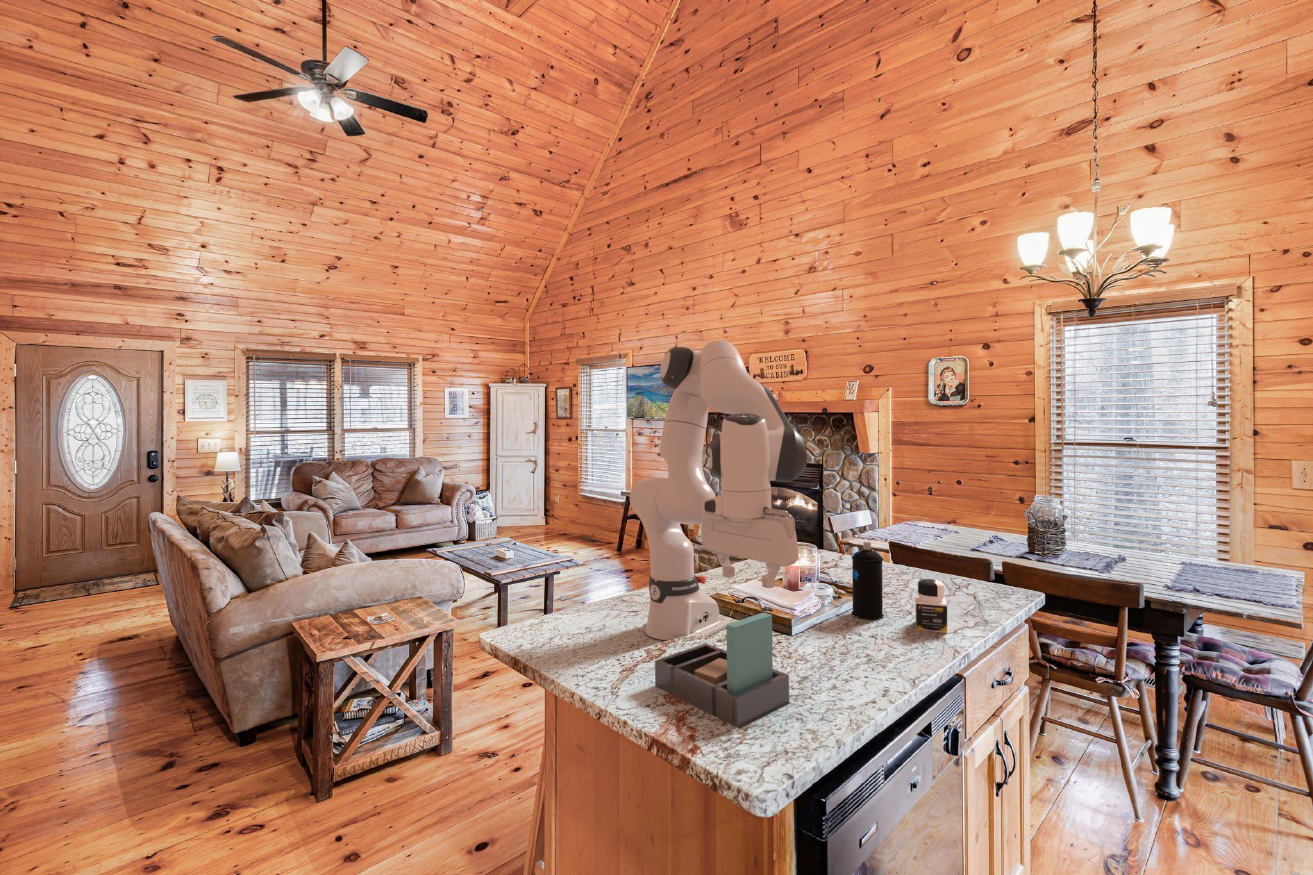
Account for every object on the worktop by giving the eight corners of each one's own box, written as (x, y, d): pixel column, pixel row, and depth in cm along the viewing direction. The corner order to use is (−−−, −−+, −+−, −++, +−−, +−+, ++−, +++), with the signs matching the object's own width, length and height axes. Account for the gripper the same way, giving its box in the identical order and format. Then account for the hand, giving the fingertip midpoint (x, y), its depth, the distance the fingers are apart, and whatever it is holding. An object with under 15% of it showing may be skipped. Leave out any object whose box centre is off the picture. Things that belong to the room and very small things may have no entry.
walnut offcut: (719, 670, 118) (719, 657, 118) (740, 677, 115) (740, 664, 115) (694, 683, 112) (694, 670, 112) (716, 691, 109) (715, 677, 109)
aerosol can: (886, 613, 165) (886, 541, 164) (879, 621, 158) (879, 546, 157) (855, 608, 169) (855, 538, 169) (848, 616, 162) (847, 543, 162)
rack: (706, 673, 126) (705, 643, 126) (791, 710, 109) (791, 675, 109) (655, 693, 117) (655, 660, 117) (739, 737, 100) (739, 698, 100)
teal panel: (764, 697, 112) (763, 612, 111) (772, 701, 110) (772, 614, 110) (727, 714, 105) (726, 624, 105) (735, 719, 104) (735, 627, 103)
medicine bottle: (916, 630, 151) (915, 582, 151) (915, 621, 158) (915, 576, 158) (947, 633, 148) (947, 585, 148) (945, 624, 155) (945, 578, 155)
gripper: (805, 508, 101) (807, 590, 101) (718, 498, 116) (719, 568, 117) (781, 513, 97) (783, 598, 97) (694, 501, 112) (696, 574, 113)
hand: (748, 581), depth 107 cm, fingers open, 8 cm apart
